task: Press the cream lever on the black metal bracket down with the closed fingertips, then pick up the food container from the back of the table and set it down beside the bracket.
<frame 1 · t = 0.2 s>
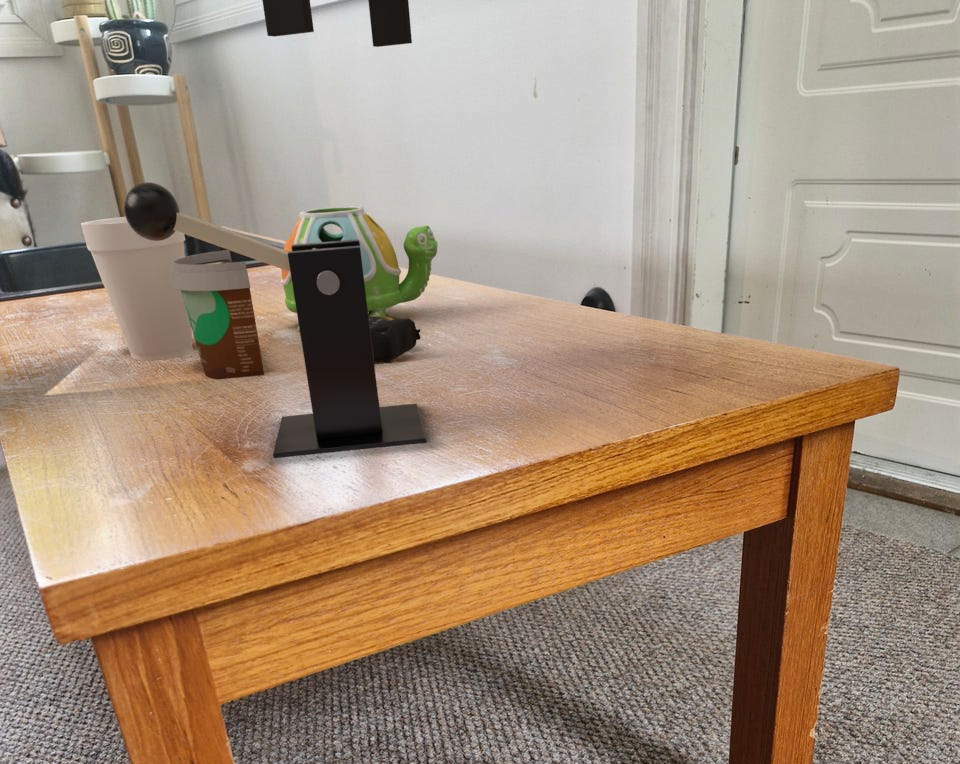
hand: (346, 40, 58), 24 cm above the table, tool pointing down, fingers open, 13 cm apart
tape measure: (383, 364, 85), on the table
foam cup: (162, 355, 95), on the table
food container: (225, 374, 85), on the table
lever: (241, 244, 56), point 13 cm above the table, hinge at 24.0°
turtle holder: (359, 322, 105), on the table
bracket: (352, 443, 63), on the table
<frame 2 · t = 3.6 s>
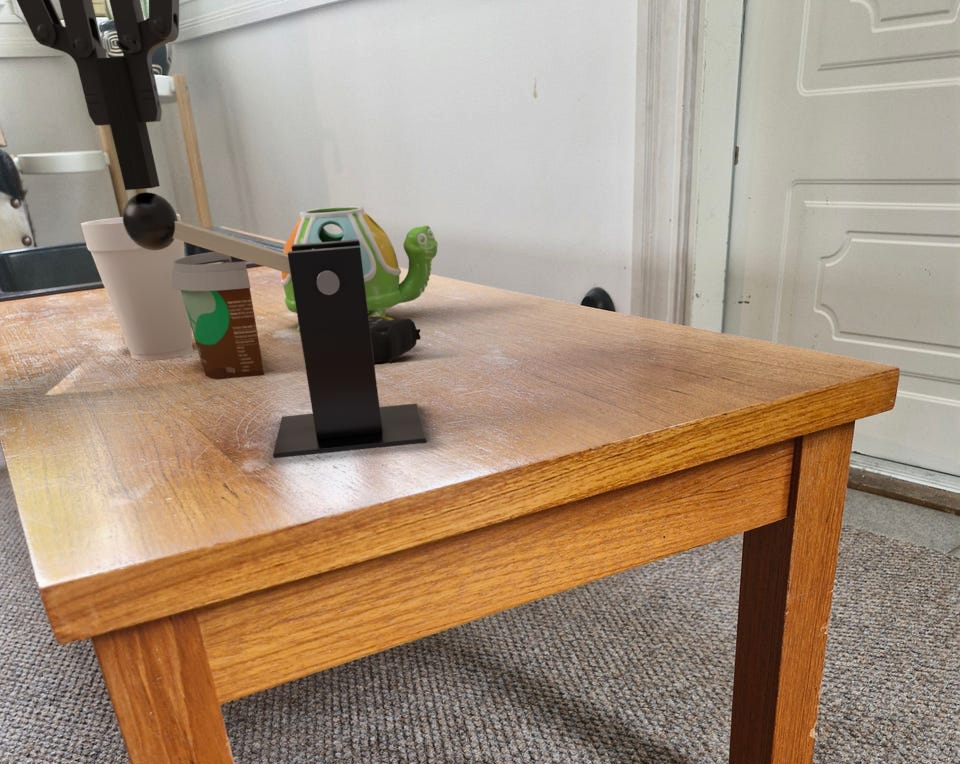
hand: (142, 187, 54), 17 cm above the table, tool pointing down, fingers closed
lever: (240, 249, 56), point 13 cm above the table, hinge at 21.0°
everything else where it was.
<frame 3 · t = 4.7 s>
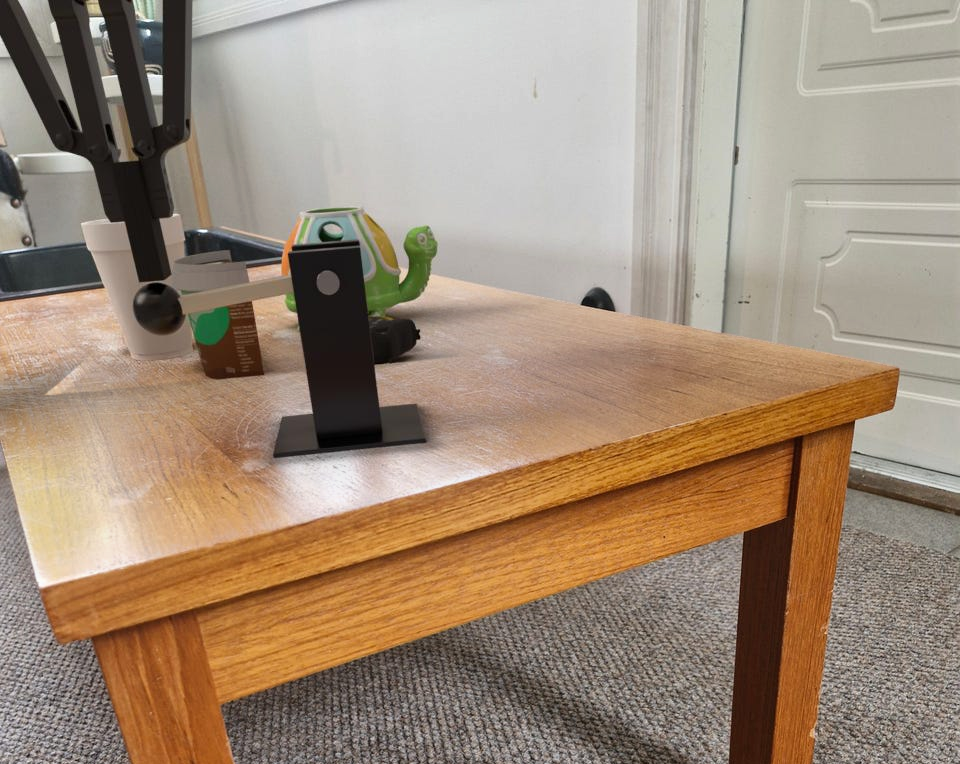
hand: (155, 278, 56), 12 cm above the table, tool pointing down, fingers closed
lever: (242, 293, 57), point 10 cm above the table, hinge at -5.8°, touching gripper
everything else where it was.
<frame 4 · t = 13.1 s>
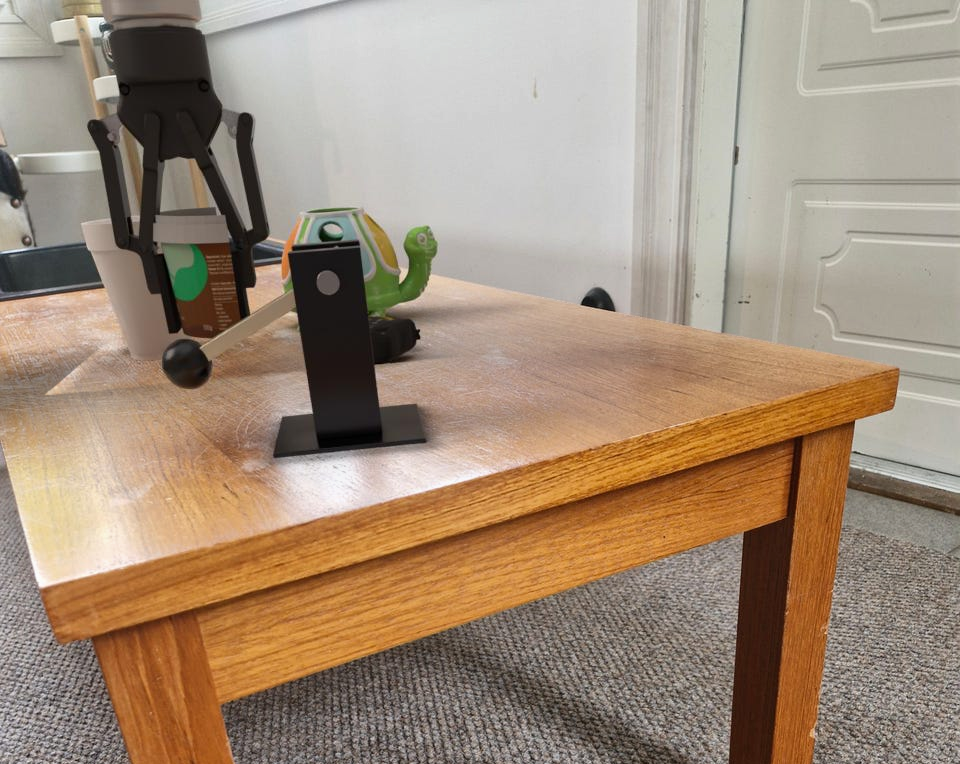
hand: (210, 327, 83), 4 cm above the table, tool pointing down, fingers closed on food container, 6 cm apart
food container: (204, 333, 83), point 4 cm above the table, touching gripper
lever: (256, 321, 58), point 9 cm above the table, hinge at -24.9°
everything else where it was.
when the fingers open (0 cm above the table, at t = 20.3 s): food container stays where it is, on the table.
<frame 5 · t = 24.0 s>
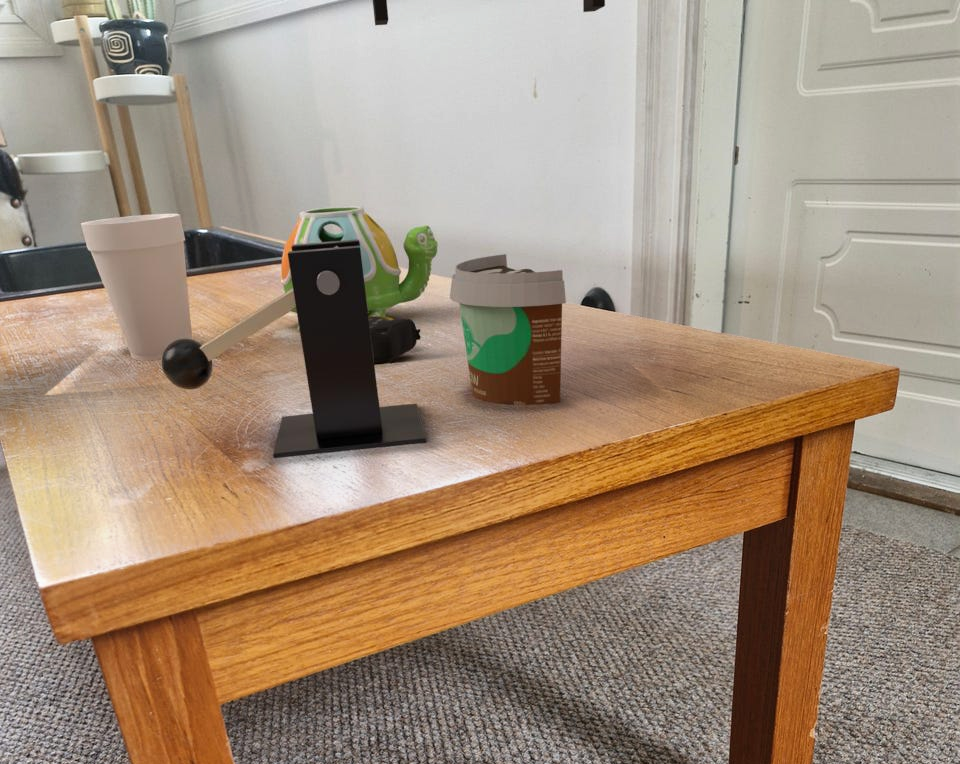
hand: (488, 16, 57), 25 cm above the table, tool pointing down, fingers open, 13 cm apart
food container: (499, 407, 69), on the table
everything else where it was.
at the end: lever at -25° (first picture: +24°); food container inside the target area on the table beside the bracket (0.6 cm from its centre), on the table; food container tilted 0° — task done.
